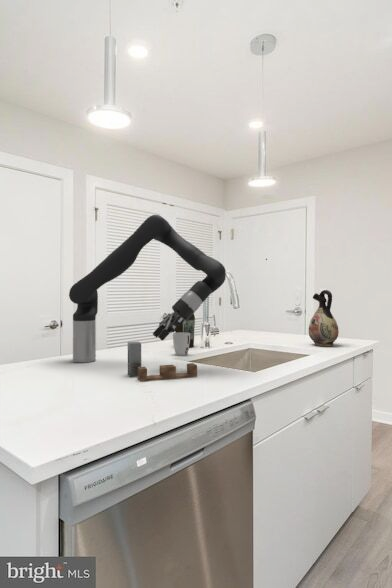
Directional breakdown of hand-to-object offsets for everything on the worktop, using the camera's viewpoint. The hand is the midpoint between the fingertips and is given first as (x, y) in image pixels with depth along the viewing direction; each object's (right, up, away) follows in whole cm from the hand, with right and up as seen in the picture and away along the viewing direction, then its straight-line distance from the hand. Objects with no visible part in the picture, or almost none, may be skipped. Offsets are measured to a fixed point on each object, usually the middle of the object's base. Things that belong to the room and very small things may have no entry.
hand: (157, 337), depth 138 cm
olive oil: (+8, -12, +62) cm, 64 cm away
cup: (+7, -13, +39) cm, 42 cm away
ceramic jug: (+83, -12, +67) cm, 107 cm away
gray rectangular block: (-8, -13, -3) cm, 15 cm away
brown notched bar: (+4, -13, -7) cm, 15 cm away
